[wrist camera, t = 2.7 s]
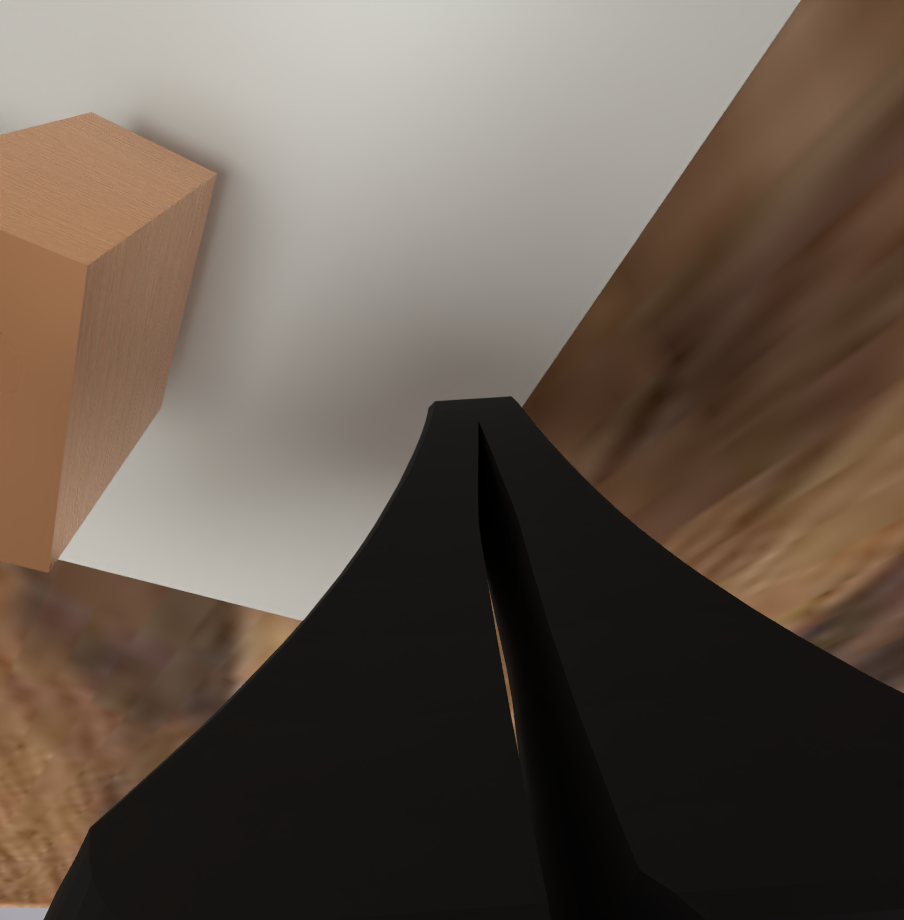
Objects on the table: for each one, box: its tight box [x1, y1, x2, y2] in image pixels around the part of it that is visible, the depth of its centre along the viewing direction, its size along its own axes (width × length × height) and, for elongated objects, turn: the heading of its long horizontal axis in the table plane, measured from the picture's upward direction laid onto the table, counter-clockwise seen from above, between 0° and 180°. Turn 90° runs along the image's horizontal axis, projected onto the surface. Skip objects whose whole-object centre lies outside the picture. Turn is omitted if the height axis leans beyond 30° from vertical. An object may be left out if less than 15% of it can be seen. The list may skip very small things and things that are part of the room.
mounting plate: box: [0, 0, 801, 621], centre depth 8 cm, size 18×16×1 cm
